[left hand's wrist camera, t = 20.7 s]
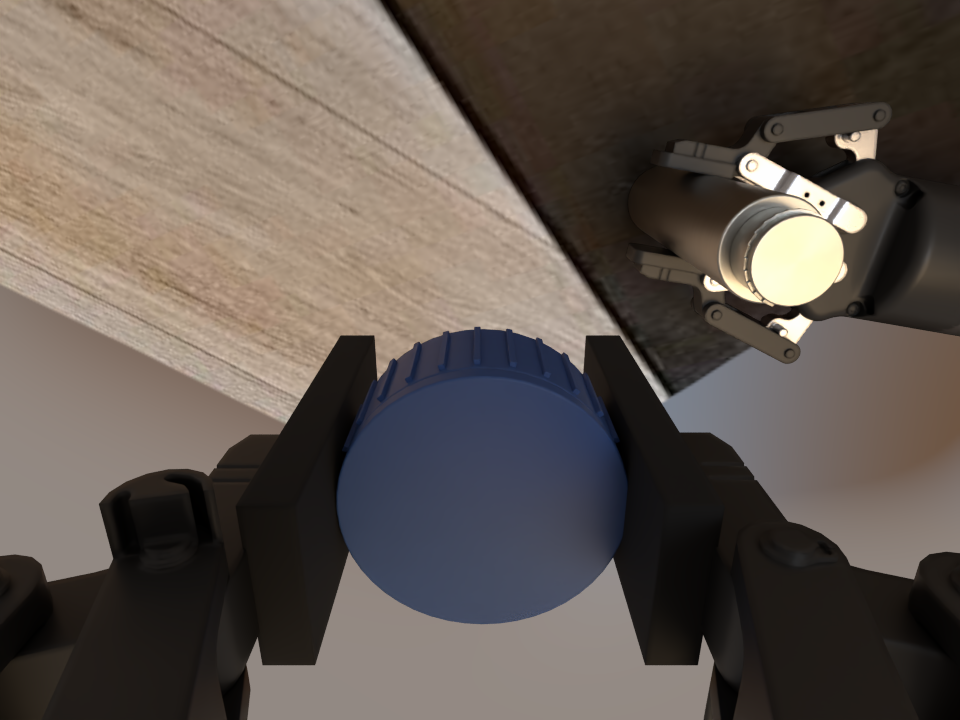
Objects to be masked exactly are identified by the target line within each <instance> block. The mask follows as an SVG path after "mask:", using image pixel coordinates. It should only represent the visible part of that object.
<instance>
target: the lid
mask: <svg viewBox="0 0 960 720" xmlns="http://www.w3.org/2000/svg"><path fill="white" fill-rule="evenodd" d="M618 442H620V440H619V437H618V435H617V433H616V430H615V428H614V426H613V423H612V421H611V419H610V416H609V414H608V411H607V409H606V407H605V404H604V402H603V400H602V397H601V396H599V397H597V396H596V393H595V391H594V388H593V386H592V383H591V381H590V378H589V376H588V375H587V373H586V372H585V373H583V374H582V373H581V372H580V371H579V370H578V369H577V368H576V367H575V366H574V365H573V364H572V363H571V362H570V360H569V357H568V355H567V354H565V353H563V354H562V355H561V354H560V353H558V352H557V351H555V350H554V349H552V348H551V347H549V346H547V345H545V344H543V342H542V339H540V338H536V340H535V339H532V338H529V337H526V336H523V335H520V334H517V333H513V332H512V330H511V329H506V331H501V330H487V329H481V328H480V327H474V330H464V331H459V332H454V333H449V331H446V332H443V335H442V336H439V337H436V338H433V339H431V340H429V341H426V342H424V343H422V344H420V342H417V343H416V344H414V347H413V349H411V350H410V351H408V352H407V353H405V354H404V355H402V356H401V357H400V358H399V359H398V360H397V361H396V360H395V359H392V360H391V361H390V363H389V366H388V369H387V370H386V371H385V373H384V374H383V375H382V376H381V377H380V379H379V380H378V382H377V381H376V380H373V382H372V383H371V386H370V388H369V391H368V393H367V396H366V398H365V401H364V403H363V405H362V404H361V405H360V407H359V410H358V412H357V415H356V417H355V420H354V422H353V425H352V427H351V429H350V432H349V434H348V437H347V439H346V442H345V444H344V447H343V450H342V451H344V452H347V453H346V455H345V458H344V460H343V463H342V467H341V470H340V473H339V477H338V483H337V490H336V510H337V516H338V522H339V526H340V529H341V532H342V535H343V538H344V541H345V543H346V545H347V547H348V549H349V551H350V553H351V555H352V557H353V558H354V560H355V561H356V563H357V564H358V566H359V567H360V569H361V570H362V571H363V572H364V573H365V574H366V575H367V576H368V578H369V579H370V580H371V581H372V582H373V583H374V584H375V585H377V586H378V587H379V588H380V589H381V590H382V591H384V592H385V593H386V594H388V595H389V596H391V597H392V598H394V599H395V600H397V601H398V602H400V603H402V604H404V605H406V606H408V607H410V608H412V609H414V610H416V611H419V612H421V613H424V614H427V615H429V616H432V617H436V618H440V619H444V620H448V621H454V622H461V623H470V624H496V623H505V622H512V621H518V620H521V619H525V618H530V617H533V616H536V615H539V614H541V613H544V612H547V611H550V610H552V609H554V608H556V607H558V606H560V605H562V604H564V603H566V602H567V601H569V600H570V599H572V598H573V597H575V596H576V595H578V594H579V593H581V592H582V591H583V590H584V589H585V588H587V587H588V586H589V585H590V584H591V583H592V582H593V581H594V580H595V579H596V578H597V577H598V576H599V575H600V574H601V573H602V572H603V571H604V569H605V568H606V566H607V565H608V564H609V562H610V561H611V559H612V558H613V556H614V555H615V553H616V551H617V549H618V547H619V545H620V543H621V540H622V537H623V530H624V520H625V510H626V500H627V490H628V477H627V474H626V470H625V467H624V463H623V460H622V458H621V455H620V453H619V451H618V448H617V446H616V443H618Z"/></svg>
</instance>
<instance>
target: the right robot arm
mask: <svg viewBox="0 0 960 720" xmlns="http://www.w3.org/2000/svg"><path fill="white" fill-rule="evenodd" d="M891 116H892V109H891V107H890V105H889V104H887V103H885V102H869V103H850V104H843V105H835V106H828V107H821V108H813V109H806V110H799V111H792V112H784V113H777V114H770V115H763V116H756V117H753V118H751V119H750V120H749V121H748V122H747V123H746V125H745V130H744V134H743V135H742V136H741V138H740V139H739V141H738V142H737V143H736V144H734V145H733V146H731V147H727V148H726V147H720V146H715V145H710V144H704V143H699V142H694V141H688V140H681V139H677V140H672V141H668V142H667V145H666V149H665V152H664V151H658V150H653V154H652V158H651V161H650V164H654V165H658V166H663V167H668V168H673V169H679V170H684V171H690V172H695V173H700V174H706V175H712V176H717V177H722V178H727V179H732V178H733V177H734V178H736V179H738V180H740V181H741V182H743V183H746V184H750V185H754V186H758V187H762V188H766V189H770V190H774V191H778V192H782V193H787V194H791V195H794V196H798V197H801V198H803V199H805V200H807V201H808V202H810V203H811V204H812V205H813V206H815V207H816V209H817V210H818V211H819V212H820V214H821V215H822V216H823V218H824V219H826V220H828V221H829V222H830V223H832V224H833V225H834V226H835V227H836V229H837V230H838V231H839V233H840V235H841V237H842V240H843V244H844V261H843V266H842V269H841V271H840V273H839V276H838V277H837V279H836V281H835V282H834V283H833V285H832V286H831V287H830V288H829V289H828V290H827V291H826V292H825V293H824V294H822V295H821V296H820V297H818V298H817V299H815V300H813V301H811V302H808V303H806V304H803V305H799V306H791V308H792V310H791V311H790V312H789V313H787V314H785V315H777V314H773V313H772V314H767V315H765V316H763V317H762V318H761V321H758V320H757V319H755V318H753V317H751V316H749V315H747V314H745V313H743V312H742V311H740V310H738V309H736V308H734V307H732V306H730V305H729V304H727V303H725V295H724V291H727V289H725V288H724V287H722V286H721V285H720V284H718V283H717V282H715V281H714V280H712V279H711V278H710V277H708V276H707V275H705V274H704V273H702V272H701V271H699V270H698V269H697V268H695V267H694V266H692V265H691V264H689V263H688V262H686V261H685V260H684V259H682V258H681V257H679V256H678V255H676V254H675V253H674V252H672V251H671V250H669V249H664V248H658V247H653V246H647V245H641V244H635V243H629V245H628V249H627V253H626V257H627V258H628V259H629V260H630V261H632V262H634V263H635V264H634V267H635V268H636V269H637V270H638V271H639V272H640V273H642V274H643V275H645V276H646V277H648V278H652V279H659V280H664V281H670V282H676V283H681V284H687V285H692V287H693V294H694V297H693V298H692V300H691V307H692V309H693V310H694V311H695V312H696V313H697V314H699V315H701V316H702V317H703V319H704V320H705V321H706V322H707V323H708V324H710V325H712V326H714V327H716V328H717V329H719V330H721V331H723V332H725V333H727V334H729V335H731V336H733V337H735V338H736V339H738V340H740V341H742V342H744V343H746V344H748V345H750V346H752V347H754V348H756V349H757V350H759V351H761V352H763V353H765V354H767V355H769V356H771V357H773V358H775V359H777V360H778V361H780V362H782V363H785V364H789V363H793V362H794V361H796V360H797V359H798V357H799V356H800V348H799V346H798V345H797V342H798V341H799V340H800V338H801V337H802V335H803V334H804V333H805V331H806V330H807V329H808V327H809V326H810V325H811V323H812V322H813V321H822V320H826V319H829V318H832V317H838V316H844V317H851V318H857V319H863V320H869V321H874V322H880V323H886V324H892V325H898V326H903V327H910V328H915V329H920V330H926V331H932V332H938V333H944V334H950V335H955V336H960V186H956V185H950V184H945V183H940V182H934V181H929V180H924V179H918V178H913V177H908V176H902V175H898V174H895V173H893V172H892V171H890V170H889V169H888V168H887V167H886V166H885V164H883V163H882V162H881V161H879V160H876V159H875V155H876V145H877V134H878V129H880V128H883V127H884V126H886V125H887V124H888V122H889V121H890V119H891ZM823 136H825V139H826V143H827V145H828V146H830V147H832V148H839V149H842V150H843V151H844V152H845V153H846V156H847V160H845V161H842V162H840V163H838V164H836V165H834V166H832V167H829V168H827V169H825V170H823V171H821V172H819V173H817V174H814V175H812V176H810V177H808V178H806V179H805V178H804V177H802V176H800V175H798V174H796V173H794V172H791V171H789V170H786V169H784V168H783V167H781V166H779V165H777V164H776V163H774V162H772V161H770V160H769V159H767V157H768V155H769V154H770V152H771V151H772V150H773V148H774V147H775V145H776V144H777V143H779V142H786V141H794V140H801V139H808V138H816V137H823Z"/></svg>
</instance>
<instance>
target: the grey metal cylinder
mask: <svg viewBox="0 0 960 720" xmlns="http://www.w3.org/2000/svg"><path fill="white" fill-rule="evenodd" d="M628 210H629V214H630V217H631V219H632V221H633V222H634V224H635V225H636V226H637V227H638V228H639V229H641V230H642V231H643V232H645V233H646V234H648V235H649V236H651V237H652V238H653V239H655V240H656V241H658V242H659V243H661V244H662V245H663V246H665V247H666V248H668V249H669V250H671V251H672V252H674V253H675V254H676V255H678V256H679V257H681V258H682V259H684V260H685V261H686V262H688V263H689V264H691V265H692V266H694V267H695V268H697V269H698V270H699V271H701V272H702V273H704V274H705V275H707V276H708V277H710V278H711V279H712V280H714V281H715V282H717V283H718V284H720V285H721V286H722V287H724V288H725V289H727V290H728V291H730V292H731V293H733V294H734V295H735V296H737V297H739V298H741V299H743V300H745V301H748V302H752V303H759V304H768V305H770V306H772V307H773V306H774V304H775V305H779V306H785V307H791V306H799V305H803V304H806V303H808V302H811V301H813V300H815V299H817V298H818V297H820V296H821V295H822V294H824V293H825V292H826V291H827V290H828V289H829V288H830V287H831V286H832V285H833V283H834V282H835V281H836V279H837V277H838V276H839V273H840V271H841V269H842V266H843V261H844V244H843V240H842V237H841V235H840V233H839V231H838V230H837V229H836V227H835V226H834V225H833V224H832V223H830V222H829V221H828V220H826V219H824V218H823V216H822V215H821V214H820V212H819V211H818V210H817V209H816V207H815V206H813V205H812V204H811V203H810V202H808V201H807V200H805V199H803V198H801V197H798V196H794V195H791V194H787V193H782V192H778V191H774V190H770V189H766V188H762V187H758V186H754V185H750V184H746V183H742V182H738V181H734V180H730V179H725V178H721V177H717V176H712V175H706V174H700V173H695V172H690V171H684V170H679V169H673V168H668V167H663V166H656V167H653V168H651V169H649V170H647V171H645V172H644V173H643V174H641V175H640V176H639V177H638V179H637V180H636V181H635V183H634V184H633V186H632V188H631V190H630V193H629V198H628Z"/></svg>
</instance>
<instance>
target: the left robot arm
mask: <svg viewBox="0 0 960 720" xmlns="http://www.w3.org/2000/svg"><path fill="white" fill-rule="evenodd" d="M585 372H586V373H587V375H588V376H589V378H590V381H591V383H592V386H593V388H594V391H595V393H596V396H597V397H599V396H601V397H602V400H603V402H604V404H605V407H606V409H607V411H608V414H609V416H610V419H611V421H612V423H613V426H614V428H615V430H616V433H617V435H618V437H619V440H620V442H618V443H616V446H617V448H618V451H619V453H620V455H621V458H622V460H623V463H624V467H625V470H626V474H627V477H628V490H627V500H626V510H625V520H624V530H623V537H622V540H621V543H620V545H619V547H618V549H617V551H616V553H615V555H614V556H613V558H614V562H615V565H616V568H617V571H618V575H619V578H620V582H621V585H622V588H623V592H624V595H625V598H626V602H627V605H628V609H629V612H630V615H631V619H632V622H633V625H634V629H635V632H636V635H637V639H638V642H639V646H640V649H641V652H642V655H643V659H644V662H645V665H698V661H699V655H700V649H701V643H702V637H703V635H704V638H705V640H706V642H707V645H708V647H709V649H710V652H711V654H712V656H713V659H714V666H713V671H712V677H711V682H710V687H709V693H708V698H707V704H706V709H705V715H704V720H960V553H952V552H942V553H935V554H929V555H928V556H927V557H925V558H924V559H923V560H922V561H920V563H919V566H918V569H917V573H916V576H915V579H914V580H913V579H908V578H903V577H898V576H893V575H888V574H883V573H879V572H874V571H869V570H865V569H861V568H857V567H854V566H850V564H849V562H848V560H847V558H846V556H845V555H844V554H843V552H842V551H841V550H840V548H839V547H838V546H837V545H836V544H835V543H834V542H832V541H831V540H829V539H828V538H827V537H825V536H824V535H822V534H821V533H819V532H817V531H814V530H812V529H810V528H808V527H805V526H803V525H800V524H796V523H792V522H788V521H787V520H786V519H785V517H784V516H783V515H782V513H781V512H780V511H779V509H778V508H777V507H776V505H775V504H774V503H773V501H772V500H771V498H770V497H769V496H768V494H767V493H766V492H765V490H764V489H763V488H762V486H761V485H760V484H759V482H758V481H757V480H754V476H753V474H752V473H751V472H750V470H749V469H748V468H747V467H746V466H744V462H743V461H742V460H741V458H740V457H739V456H738V454H737V453H736V452H735V450H734V449H733V448H732V447H731V446H730V445H728V444H727V443H725V442H724V441H722V440H721V439H719V438H718V437H716V436H714V435H713V434H711V433H680V432H679V431H678V429H677V428H676V426H675V424H674V423H673V421H672V420H671V418H670V416H669V415H668V413H667V412H666V410H665V408H664V407H663V405H662V403H661V402H660V400H659V398H658V397H657V395H656V394H655V392H654V390H653V389H652V387H651V386H650V384H649V382H648V381H647V379H646V377H645V376H644V374H643V373H642V371H641V369H640V368H639V366H638V365H637V363H636V361H635V360H634V358H633V356H632V355H631V353H630V352H629V350H628V348H627V347H626V345H625V344H624V342H623V340H622V339H621V337H620V336H586V343H585V358H584V373H585ZM373 380H376V381H377V368H376V352H375V337H374V336H340V338H339V339H338V341H337V343H336V344H335V346H334V347H333V349H332V351H331V352H330V354H329V355H328V357H327V359H326V360H325V362H324V364H323V365H322V367H321V368H320V370H319V372H318V373H317V375H316V376H315V378H314V380H313V381H312V383H311V385H310V386H309V388H308V389H307V391H306V393H305V394H304V396H303V398H302V399H301V401H300V402H299V404H298V406H297V407H296V409H295V410H294V412H293V414H292V415H291V417H290V419H289V420H288V422H287V423H286V425H285V427H284V428H283V430H282V431H281V433H280V435H249V436H248V437H246V438H245V439H243V440H242V441H240V442H239V443H237V444H236V445H234V446H232V447H231V448H229V450H228V451H227V452H226V453H225V455H224V456H223V458H222V459H221V460H220V462H219V463H218V464H217V468H215V469H214V470H213V471H212V472H211V474H210V475H209V476H207V475H206V474H204V473H203V472H199V471H194V470H190V469H168V470H163V471H158V472H153V473H149V474H145V475H143V476H140V477H137V478H135V479H132V480H130V481H127V482H125V483H123V484H122V485H120V486H119V487H117V488H115V489H114V490H112V491H111V492H109V493H108V495H107V496H106V497H105V498H104V499H103V500H102V501H101V502H100V503H99V506H100V510H101V514H102V518H103V521H104V525H105V529H106V533H107V537H108V540H109V544H110V548H111V551H112V555H113V561H112V563H111V565H110V567H109V569H106V570H102V571H98V572H95V573H90V574H85V575H80V576H75V577H70V578H66V579H61V580H56V581H51V582H47V580H46V577H45V574H44V571H43V568H42V565H41V564H40V563H39V562H38V561H36V560H35V559H34V558H32V557H28V556H21V555H7V556H0V720H247V716H248V707H249V698H250V683H249V677H248V671H247V666H246V663H247V661H248V658H249V656H250V654H251V651H252V649H253V647H254V644H255V642H256V639H257V637H258V641H259V647H260V653H261V659H262V664H263V665H315V664H316V660H317V657H318V654H319V650H320V647H321V643H322V640H323V637H324V633H325V630H326V627H327V623H328V620H329V617H330V613H331V610H332V606H333V603H334V600H335V596H336V593H337V590H338V586H339V583H340V579H341V576H342V573H343V569H344V566H345V563H346V559H347V556H348V553H349V549H348V547H347V545H346V543H345V541H344V538H343V535H342V532H341V529H340V526H339V522H338V516H337V510H336V490H337V483H338V477H339V473H340V470H341V467H342V463H343V460H344V458H345V455H346V453H347V452H344V451H342V450H343V447H344V444H345V442H346V439H347V437H348V434H349V432H350V429H351V427H352V425H353V422H354V420H355V417H356V415H357V412H358V410H359V407H360V405H361V404H362V405H363V403H364V401H365V398H366V396H367V393H368V391H369V388H370V386H371V383H372V382H373Z"/></svg>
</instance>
